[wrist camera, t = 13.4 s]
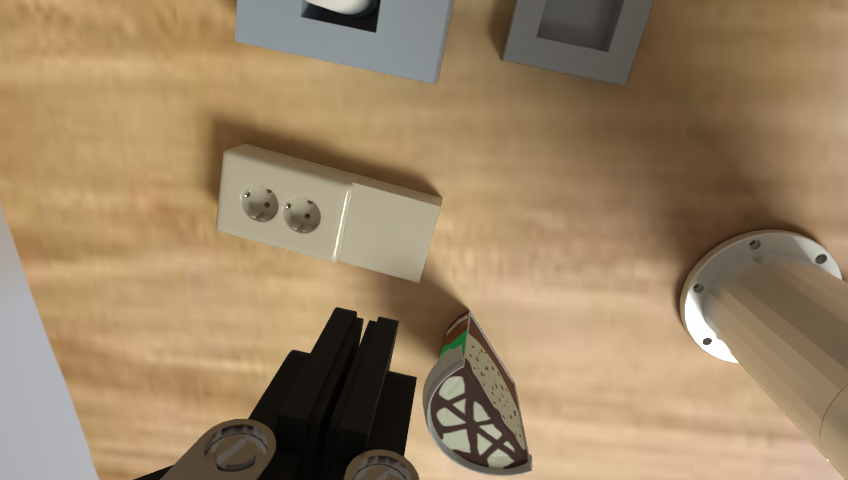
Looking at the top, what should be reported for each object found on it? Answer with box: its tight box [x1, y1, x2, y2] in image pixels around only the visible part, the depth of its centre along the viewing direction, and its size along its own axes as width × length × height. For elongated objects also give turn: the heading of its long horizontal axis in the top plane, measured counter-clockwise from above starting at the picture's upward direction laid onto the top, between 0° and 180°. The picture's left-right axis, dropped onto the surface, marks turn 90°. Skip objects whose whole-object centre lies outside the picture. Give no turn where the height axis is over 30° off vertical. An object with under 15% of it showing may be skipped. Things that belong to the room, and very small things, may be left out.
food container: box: [423, 310, 532, 476], centre depth 41 cm, size 12×6×10 cm, turn 31°
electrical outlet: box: [216, 144, 442, 283], centre depth 40 cm, size 7×4×18 cm
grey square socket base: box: [501, 0, 654, 85], centre depth 33 cm, size 9×9×2 cm
